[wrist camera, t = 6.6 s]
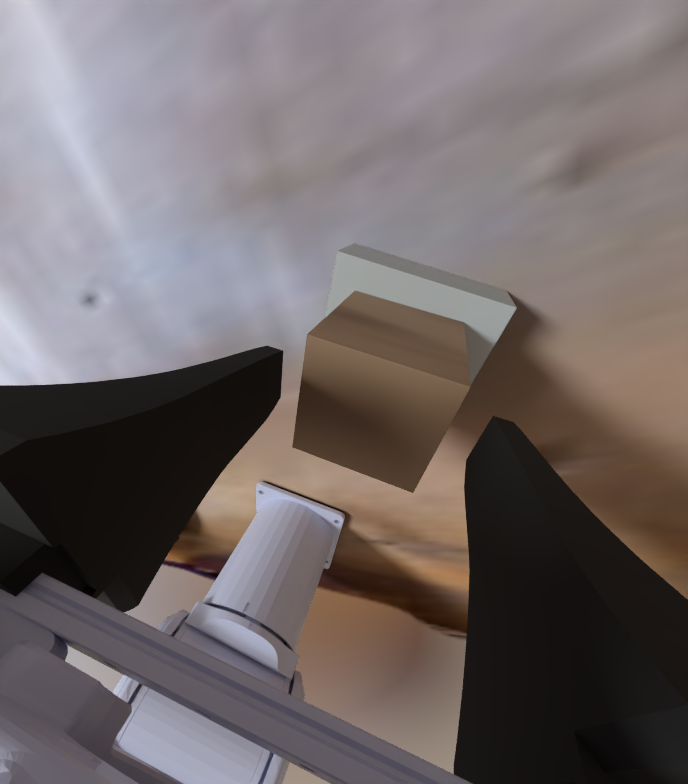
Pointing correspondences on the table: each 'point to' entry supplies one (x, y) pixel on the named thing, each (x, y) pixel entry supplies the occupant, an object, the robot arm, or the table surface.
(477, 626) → the robot arm
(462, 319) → the grey block
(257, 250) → the table surface
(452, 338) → the walnut block
